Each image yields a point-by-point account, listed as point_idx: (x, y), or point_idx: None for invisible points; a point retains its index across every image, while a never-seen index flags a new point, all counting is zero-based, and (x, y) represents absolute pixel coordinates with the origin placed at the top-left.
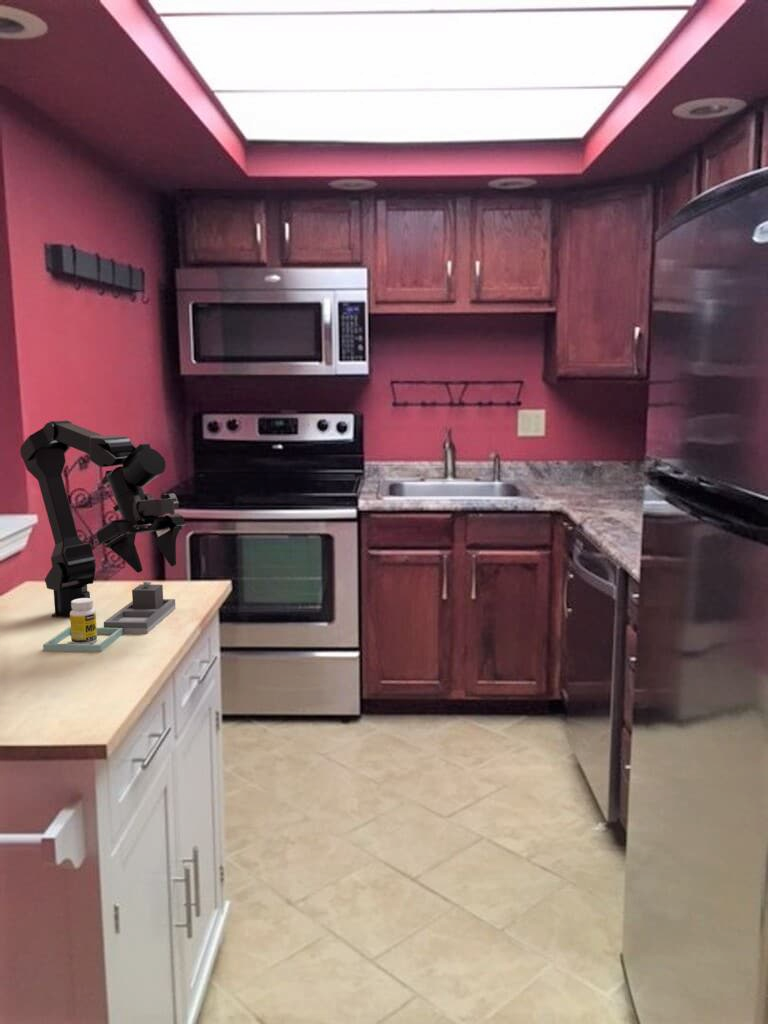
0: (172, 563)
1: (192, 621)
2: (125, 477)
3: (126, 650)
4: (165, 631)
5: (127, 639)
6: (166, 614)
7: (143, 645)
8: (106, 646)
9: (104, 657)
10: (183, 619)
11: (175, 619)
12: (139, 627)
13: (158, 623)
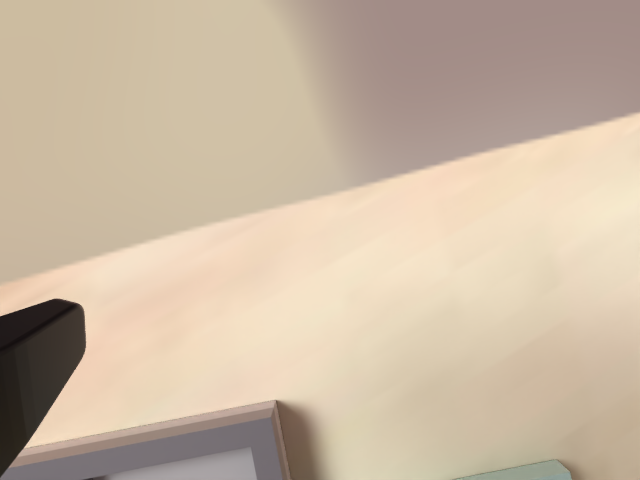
0: (66, 342)
1: (54, 289)
2: None
3: (511, 362)
4: (227, 335)
5: (375, 442)
6: None
7: (433, 327)
8: (498, 472)
9: (614, 403)
10: None
11: None
12: (280, 447)
13: (127, 429)
